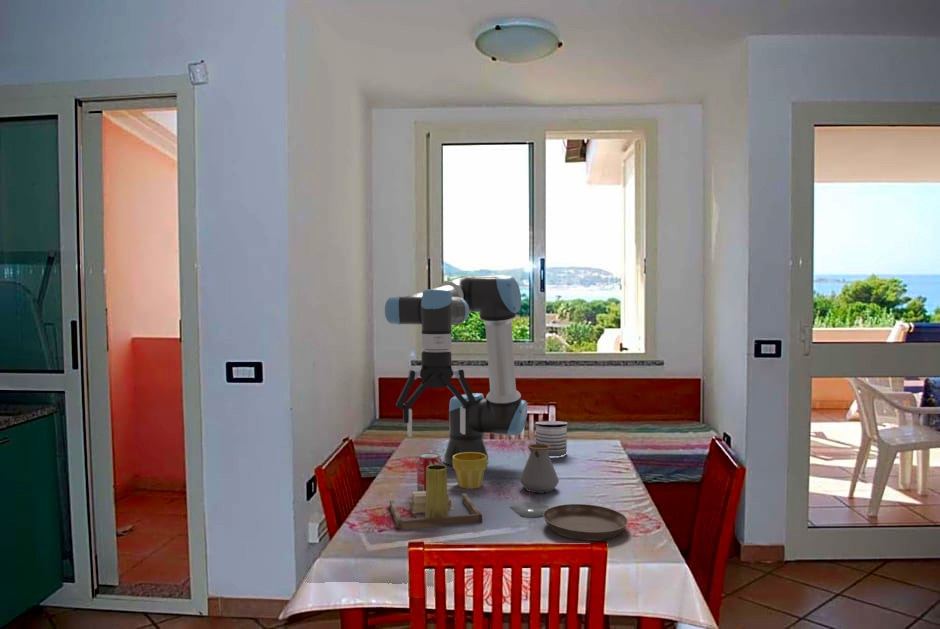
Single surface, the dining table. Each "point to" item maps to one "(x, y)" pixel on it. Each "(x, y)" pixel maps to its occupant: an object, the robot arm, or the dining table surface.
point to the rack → (438, 521)
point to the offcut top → (422, 497)
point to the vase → (436, 491)
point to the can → (552, 436)
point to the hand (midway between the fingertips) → (436, 434)
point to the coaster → (529, 509)
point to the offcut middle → (422, 506)
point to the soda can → (422, 463)
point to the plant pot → (469, 468)
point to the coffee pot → (539, 470)
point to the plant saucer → (585, 521)
